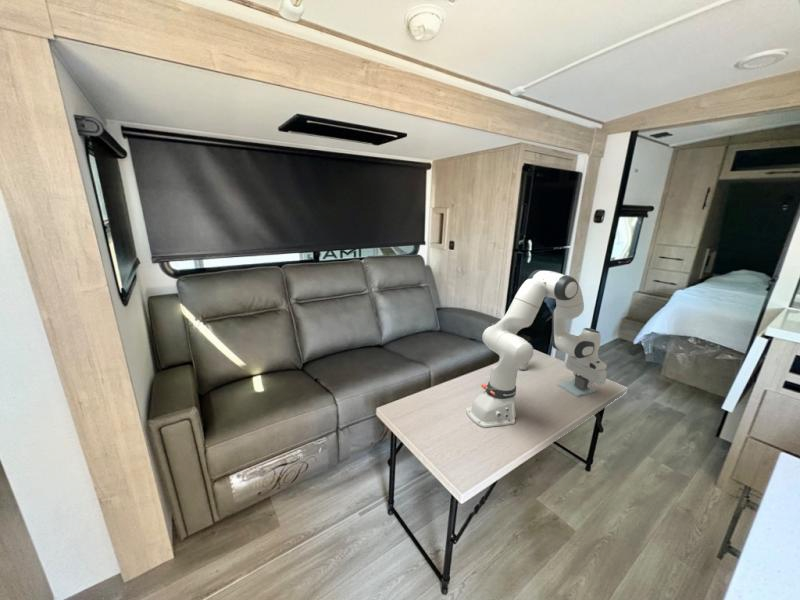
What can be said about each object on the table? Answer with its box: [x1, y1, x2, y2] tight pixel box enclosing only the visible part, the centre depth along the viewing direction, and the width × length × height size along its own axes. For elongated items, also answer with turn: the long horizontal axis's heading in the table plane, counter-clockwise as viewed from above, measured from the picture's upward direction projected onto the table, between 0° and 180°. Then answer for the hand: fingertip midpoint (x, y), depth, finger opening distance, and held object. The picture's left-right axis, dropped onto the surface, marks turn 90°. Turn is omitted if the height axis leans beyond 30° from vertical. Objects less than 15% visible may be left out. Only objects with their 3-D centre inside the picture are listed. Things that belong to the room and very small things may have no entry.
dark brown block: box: [574, 375, 590, 390], centre depth 161 cm, size 5×5×6 cm
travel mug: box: [518, 334, 532, 372], centre depth 182 cm, size 6×7×20 cm
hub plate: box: [556, 378, 598, 398], centre depth 163 cm, size 14×12×5 cm
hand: (582, 383), depth 161 cm, fingers closed on dark brown block, 5 cm apart
